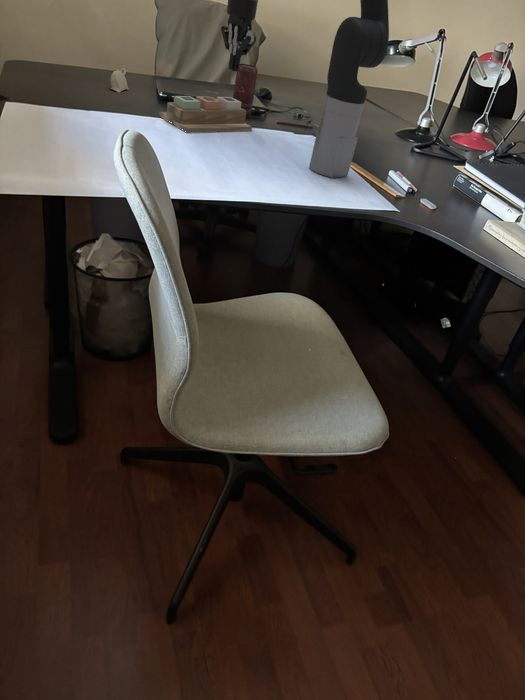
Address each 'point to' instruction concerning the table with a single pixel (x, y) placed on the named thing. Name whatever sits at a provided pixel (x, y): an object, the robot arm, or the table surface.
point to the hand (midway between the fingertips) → (233, 70)
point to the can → (245, 86)
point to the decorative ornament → (119, 80)
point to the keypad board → (206, 119)
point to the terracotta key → (209, 103)
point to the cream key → (229, 103)
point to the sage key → (186, 103)
